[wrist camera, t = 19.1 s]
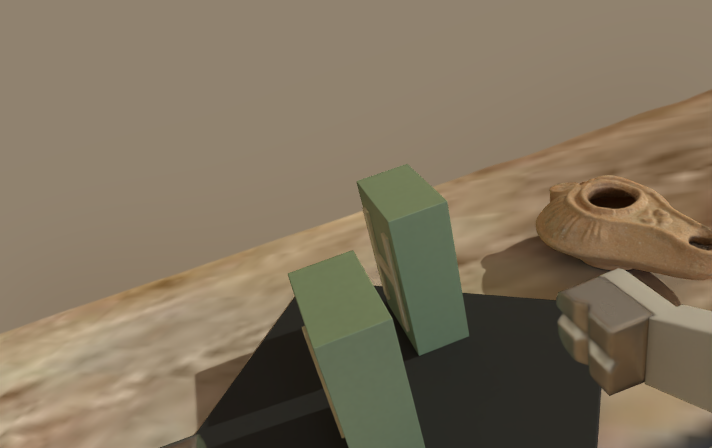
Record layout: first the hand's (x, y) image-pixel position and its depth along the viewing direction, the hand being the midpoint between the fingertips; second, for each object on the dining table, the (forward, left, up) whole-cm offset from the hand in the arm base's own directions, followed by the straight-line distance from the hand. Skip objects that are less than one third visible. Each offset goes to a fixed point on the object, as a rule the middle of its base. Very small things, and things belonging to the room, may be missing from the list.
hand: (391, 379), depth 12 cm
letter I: (-7, +9, -16) cm, 20 cm away
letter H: (-8, +19, -16) cm, 26 cm away
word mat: (-8, +14, -17) cm, 23 cm away
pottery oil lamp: (+4, +27, -17) cm, 32 cm away
